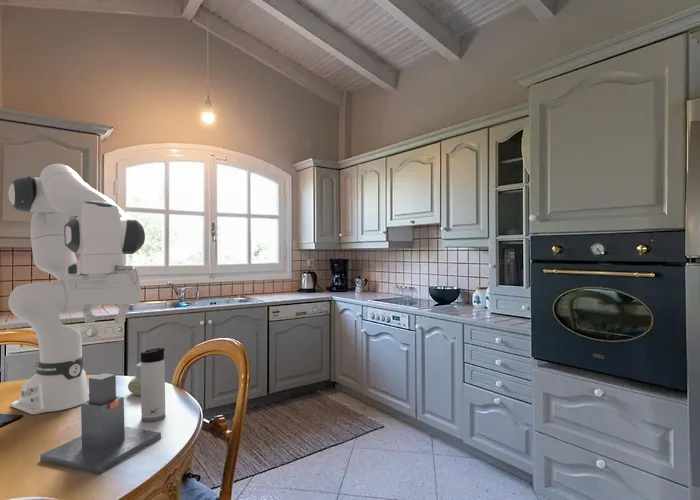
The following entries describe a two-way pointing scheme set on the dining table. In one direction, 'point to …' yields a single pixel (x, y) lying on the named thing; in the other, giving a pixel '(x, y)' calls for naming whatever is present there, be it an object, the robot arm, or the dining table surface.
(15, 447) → the dining table surface
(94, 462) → the stand
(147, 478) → the dining table surface
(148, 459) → the dining table surface
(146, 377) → the travel mug
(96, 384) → the post
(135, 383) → the air freshener
